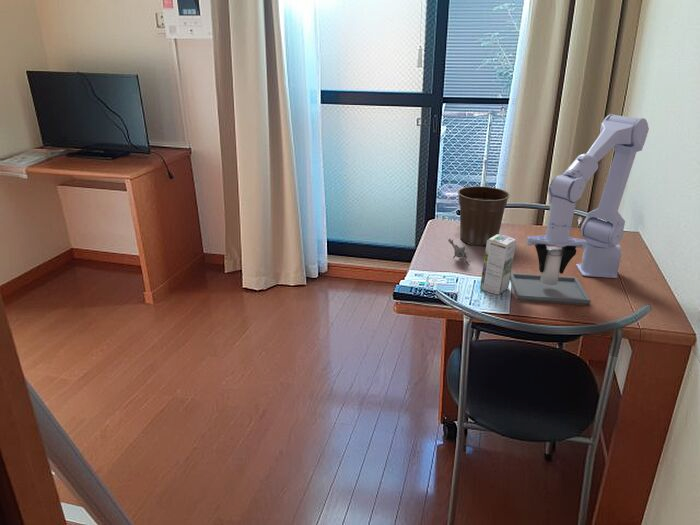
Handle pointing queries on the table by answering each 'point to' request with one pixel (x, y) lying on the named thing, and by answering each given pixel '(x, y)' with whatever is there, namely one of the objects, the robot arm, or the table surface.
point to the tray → (548, 290)
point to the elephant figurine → (459, 251)
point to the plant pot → (481, 213)
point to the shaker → (552, 266)
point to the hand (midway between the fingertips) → (550, 271)
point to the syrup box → (497, 264)
